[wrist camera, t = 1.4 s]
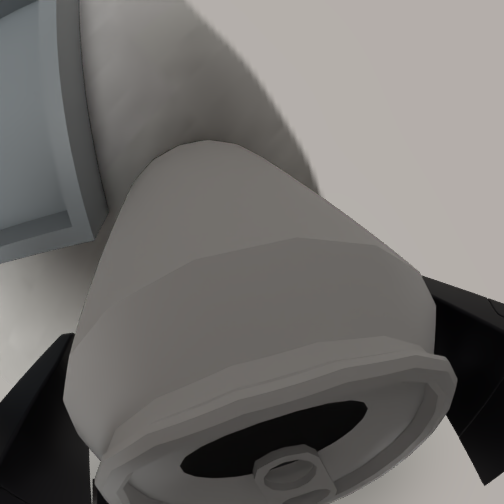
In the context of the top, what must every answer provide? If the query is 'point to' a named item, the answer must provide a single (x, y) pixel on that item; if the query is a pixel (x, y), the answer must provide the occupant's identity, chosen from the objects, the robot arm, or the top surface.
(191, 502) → the can
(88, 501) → the robot arm
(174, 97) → the top surface
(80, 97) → the bin
